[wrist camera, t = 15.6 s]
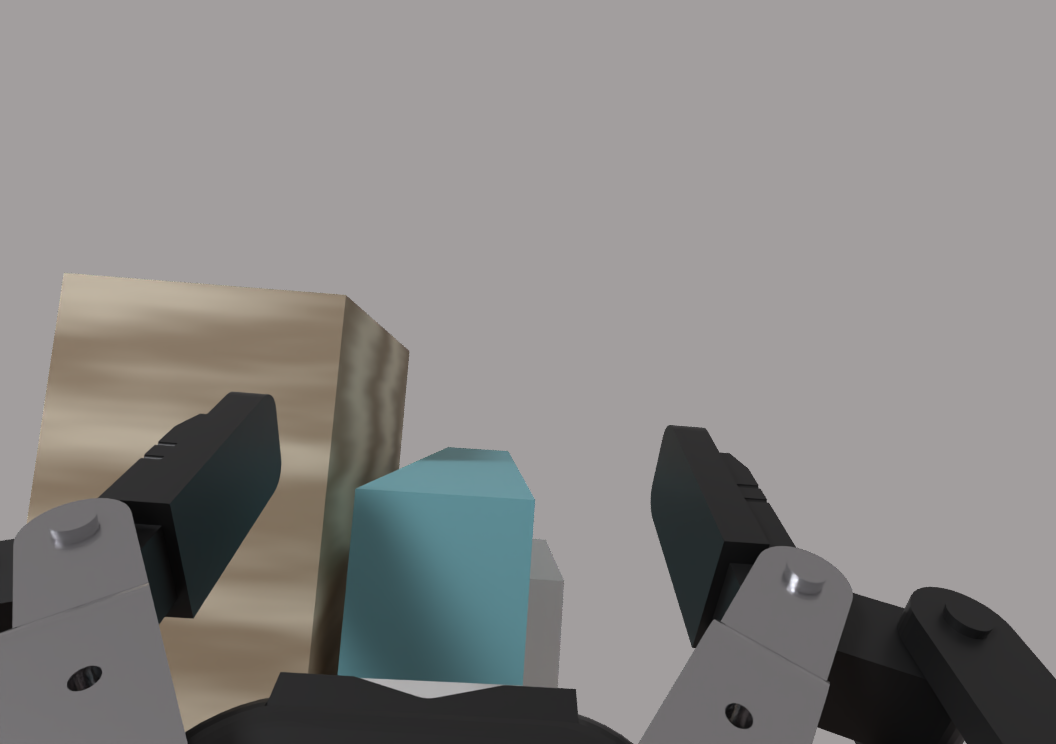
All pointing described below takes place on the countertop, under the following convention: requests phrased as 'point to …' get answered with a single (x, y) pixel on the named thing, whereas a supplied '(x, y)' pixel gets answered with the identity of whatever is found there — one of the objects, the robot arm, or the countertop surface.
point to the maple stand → (196, 388)
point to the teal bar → (440, 572)
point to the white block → (539, 634)
